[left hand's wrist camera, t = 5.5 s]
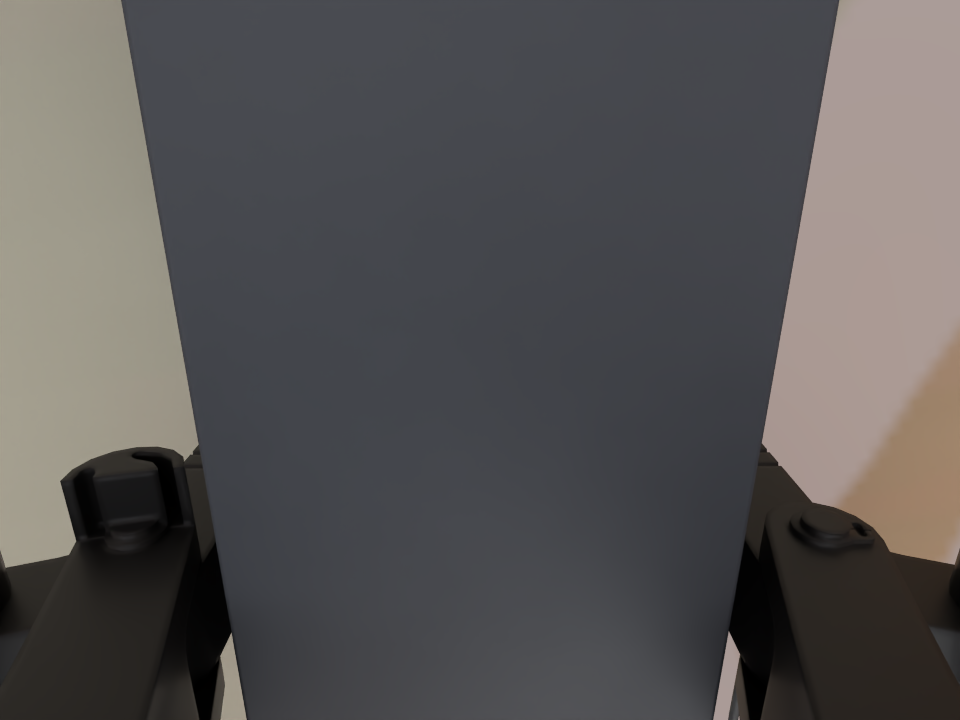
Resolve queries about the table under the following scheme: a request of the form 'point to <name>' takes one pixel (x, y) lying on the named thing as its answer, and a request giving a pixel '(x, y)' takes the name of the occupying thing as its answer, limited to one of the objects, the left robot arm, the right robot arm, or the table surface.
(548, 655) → the beam
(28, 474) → the table surface
